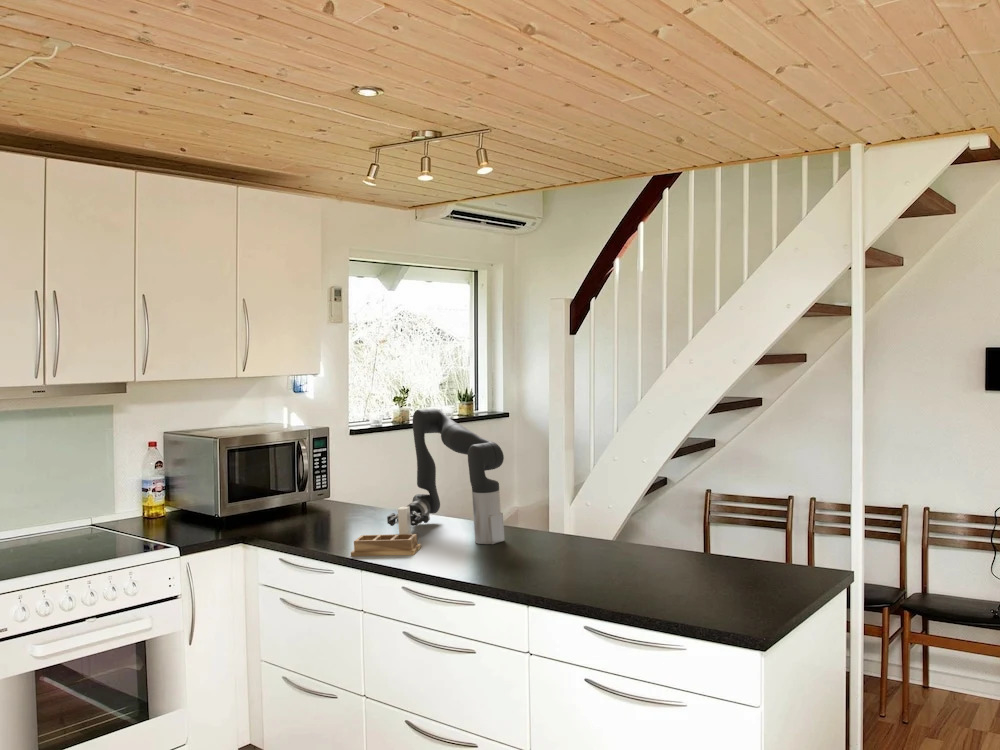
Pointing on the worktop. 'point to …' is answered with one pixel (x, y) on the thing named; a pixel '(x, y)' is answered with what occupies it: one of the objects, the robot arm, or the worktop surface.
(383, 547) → the wooden compartment tray
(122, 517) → the worktop surface
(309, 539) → the worktop surface
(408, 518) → the pale wooden block
